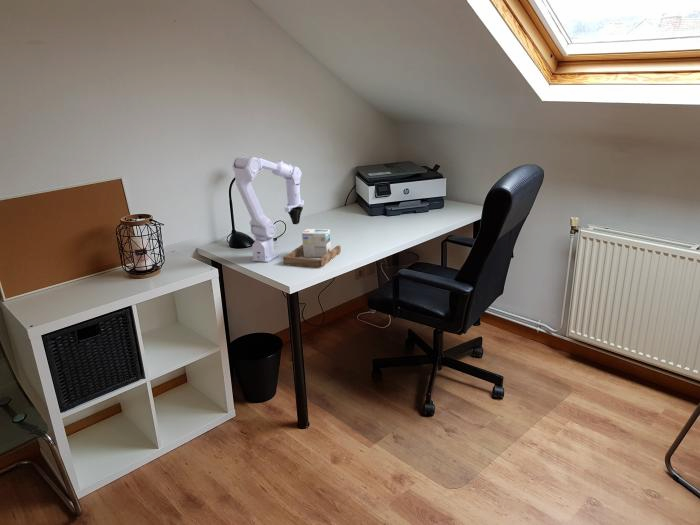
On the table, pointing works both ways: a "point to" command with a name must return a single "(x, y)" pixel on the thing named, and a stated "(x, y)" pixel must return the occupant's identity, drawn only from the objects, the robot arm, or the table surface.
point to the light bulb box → (316, 242)
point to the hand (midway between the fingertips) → (296, 223)
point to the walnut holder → (296, 260)
